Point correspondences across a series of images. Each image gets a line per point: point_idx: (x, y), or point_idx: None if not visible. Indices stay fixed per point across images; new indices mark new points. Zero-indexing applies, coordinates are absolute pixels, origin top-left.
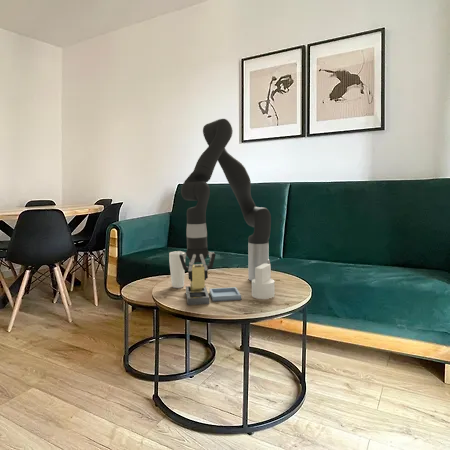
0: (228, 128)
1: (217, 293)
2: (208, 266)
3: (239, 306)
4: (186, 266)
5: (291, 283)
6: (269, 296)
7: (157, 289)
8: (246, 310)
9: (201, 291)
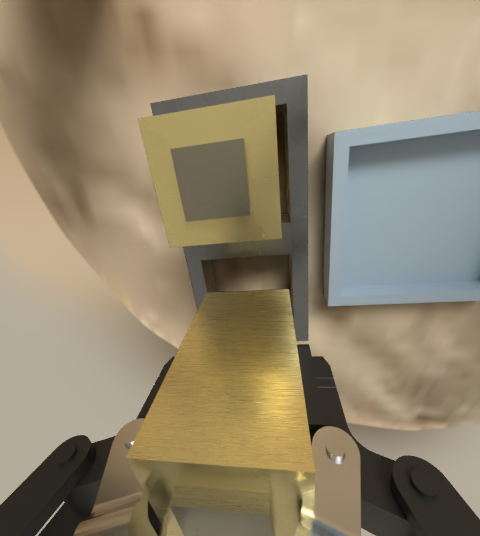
0: None
1: (376, 184)
2: (379, 529)
3: (428, 362)
4: (88, 496)
5: None
6: None
7: None
8: (438, 399)
9: (271, 243)
